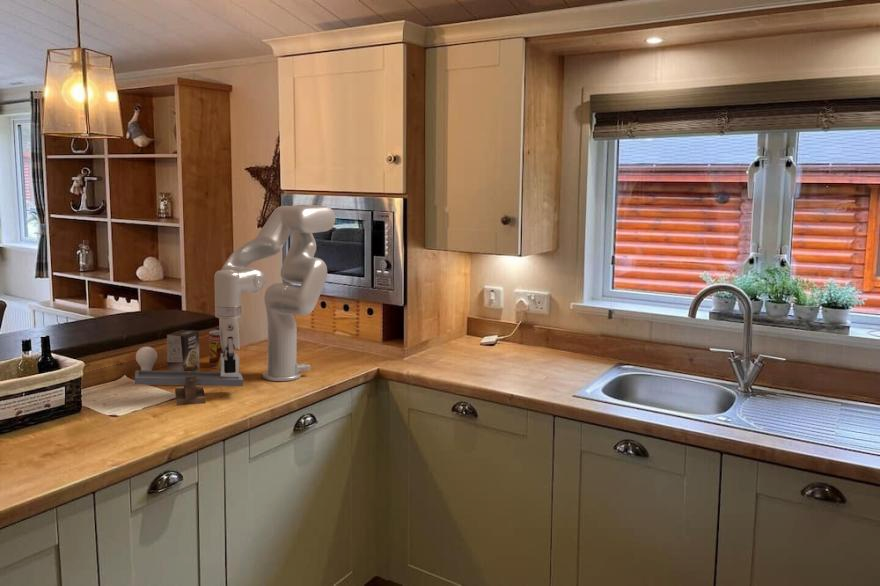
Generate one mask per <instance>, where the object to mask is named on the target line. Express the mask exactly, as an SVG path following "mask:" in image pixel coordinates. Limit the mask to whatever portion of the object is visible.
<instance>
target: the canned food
mask: <svg viewBox="0 0 880 586" xmlns="http://www.w3.org/2000/svg"><path fill="white" fill-rule="evenodd" d="M208 353H209V354H208V358H209V360H208V361H209V363H208V365H209V367H210V368H213V369H220V358H221V353H223V349H222V346H221V342H220V329H215V330H214V329H213V330H211V331H209V332H208Z"/></svg>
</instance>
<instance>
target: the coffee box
mask: <svg viewBox="0 0 880 586" xmlns="http://www.w3.org/2000/svg"><path fill="white" fill-rule="evenodd" d="M166 346H167V347H166V355H167V357H166V360H167V361H166V367H167V370H166V371H184V367H194V372H200V331H199V330H190V329H187V330H186V329H181V330H178V331H174V332H171V333H169V334H166ZM182 386H183V387H184V385H182Z"/></svg>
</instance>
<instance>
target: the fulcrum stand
mask: <svg viewBox="0 0 880 586" xmlns="http://www.w3.org/2000/svg"><path fill="white" fill-rule="evenodd" d="M184 371H191V372H194V367H184ZM174 390H175V391H174V395H175V403H176V406H186V405H187V406H188V405H189V406H190V405H200V404H201V405H202V404H206V402H207V401H206V395H205V390H204V387H203V386H197V385H196V376H185V385H184V386H183V387H175V388H174Z"/></svg>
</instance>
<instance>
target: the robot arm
mask: <svg viewBox="0 0 880 586" xmlns="http://www.w3.org/2000/svg"><path fill="white" fill-rule="evenodd" d="M335 224H336V215H335V212H334V210H333V209H332V208H331V207H329V206H327V205H314V204H296V205H280V206H277V207H276V208H275V209H274V210H273V211H272V213H271V214H270V216H269V217H268V219H266V222H265V224H264V225H263V227H262V228H261V229H260V231H259V232H258V233H257V235H256V236H255V238H253V239H250V240H249V241H248V242H246V243H244V244H243V245H241V246H240V247H238V248H236V250H234V251H233V252H232V253H231V254H230V256H229V257H228V258H227V260H226V261H225V262H224V264H223V266H222V268H221V270H217V271H216V272H215V274H214V279H213V280H214V315H215V316H214V317H215V318H217V319H218V321H219V324H218V325H219V329H218V330H220V342H221V346H222V349H223V353H225V360H224V372H225V373H235V372H236V360H235V354H236V353H235V352H236V351H235V350H237V351H239V350H240V348H241V347H240V326H239V318H240V317H242V294H243V293H248V294H250V293H256V292H259V291H260V290H261V289H262V288H263V287H264V285H265V284H266V277H265V274H264V272H263V271H261V269H258V268H254V267H248V266H250V265H251V264H253V263H255V262H257V261H260V260H264V259H267V258H270V257H273V256H276V255H277V254H279V253H280V251H282V248H283V247H284V245H285V244H286V242H287V240H288V239H289V237H290V236H292V240H291V241H292V242H291V244H290V246H289V249H288V251H287V253H286V255H285V258H284V260H283V262H282V266H281V267H280V277H281V278H282V280H283V281H284V282H287V283H282V282H277V283H273V284H271V285H269V286H268V287H267V288H266V289H265V292H264V297H263V299H264V305H265V311H266V319H267V322H266V323H267V354H266V355H267V356H266V357H267V358H266V359H267V364H266V365H267V370H265V371H264V372H262V377H263V379H265V380H267V381H271V382H272V381H273V382H287V381H288V382H290V381H294V380H297V379H299V378H300V377H302V371H304V372H305V371H311V369H312V368H311V364H306V363H300V364H299V363H298V362H297V344H298V343H297V338H298V337H297V334H298V333H297V332H298V331H297V329H298V326H297V324H298V323H297V322H296V321H297V320H296V318H295V316H294V315H299V316H307V315H310V314H311V313H312V312H313V311H314V309H315V308H316V306H317V303H318V301H319V299H320V296H321V294H322V292H323V289H324V287H325V283H326V281H327V277H328V267H327V264H326V262H325V261H324V260H323V259H321V258H319V257H314V256H315V254H316V252H317V243H316V242H317V241H316V239H315V237H314V233H316V234H317V233H324V232H328V231H330V230H331V229H332V228H334V226H335Z"/></svg>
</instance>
